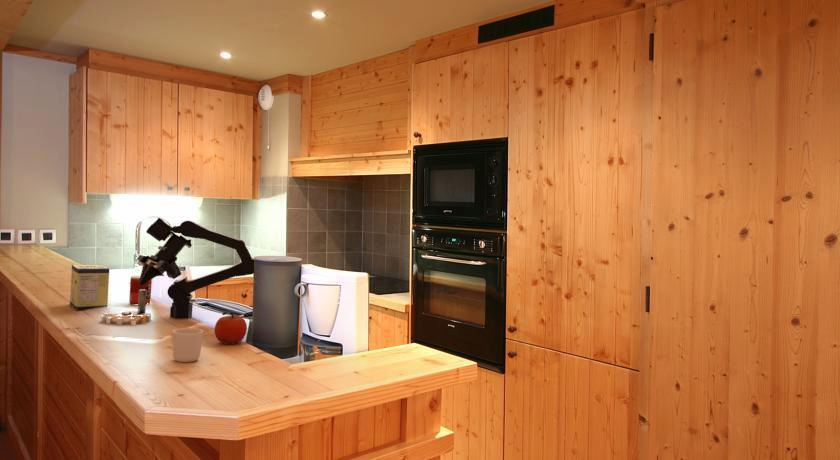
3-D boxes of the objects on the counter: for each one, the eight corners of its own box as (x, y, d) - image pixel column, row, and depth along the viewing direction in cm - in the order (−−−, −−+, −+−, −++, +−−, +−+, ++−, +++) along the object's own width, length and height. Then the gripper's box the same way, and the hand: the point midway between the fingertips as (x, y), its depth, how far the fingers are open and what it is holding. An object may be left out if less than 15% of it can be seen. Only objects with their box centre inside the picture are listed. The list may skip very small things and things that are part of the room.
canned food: (142, 305, 231) (143, 278, 231) (124, 303, 233) (126, 276, 233) (154, 303, 239) (156, 276, 239) (137, 301, 240) (139, 275, 240)
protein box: (99, 303, 231) (101, 264, 231) (107, 309, 219) (110, 268, 219) (69, 304, 224) (71, 264, 224) (76, 311, 212) (78, 268, 212)
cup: (179, 353, 162) (181, 325, 162) (208, 354, 163) (210, 326, 162) (165, 363, 151) (167, 332, 151) (197, 364, 152) (198, 334, 152)
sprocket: (158, 318, 203) (160, 290, 203) (135, 326, 188) (137, 295, 188) (117, 315, 204) (119, 286, 204) (91, 322, 189) (92, 292, 189)
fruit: (253, 343, 180) (254, 311, 180) (228, 347, 172) (230, 314, 172) (231, 338, 185) (233, 306, 185) (207, 342, 177) (208, 310, 177)
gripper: (199, 267, 205) (169, 303, 198) (173, 259, 217) (144, 293, 210) (177, 247, 198) (145, 284, 191) (152, 240, 210) (121, 274, 203)
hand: (139, 284), depth 199 cm, fingers closed
